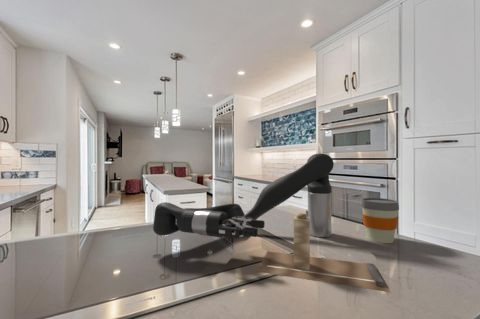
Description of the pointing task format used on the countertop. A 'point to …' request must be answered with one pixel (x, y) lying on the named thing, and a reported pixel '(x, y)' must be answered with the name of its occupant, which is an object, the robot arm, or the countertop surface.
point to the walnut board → (325, 271)
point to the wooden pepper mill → (302, 241)
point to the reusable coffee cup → (380, 219)
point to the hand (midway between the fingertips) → (261, 228)
